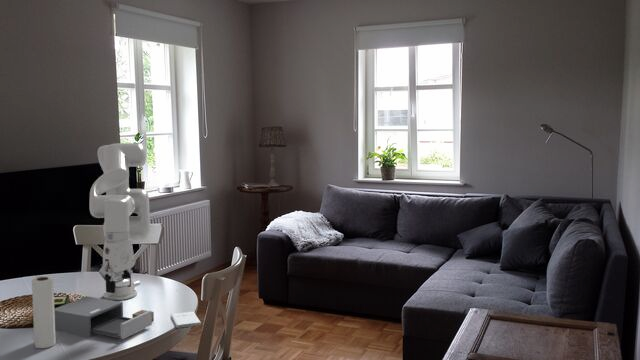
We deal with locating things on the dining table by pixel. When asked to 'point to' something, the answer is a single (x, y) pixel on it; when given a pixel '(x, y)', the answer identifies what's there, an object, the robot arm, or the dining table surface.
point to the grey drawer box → (85, 315)
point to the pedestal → (142, 313)
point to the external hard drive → (185, 319)
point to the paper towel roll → (43, 311)
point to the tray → (122, 325)
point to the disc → (121, 282)
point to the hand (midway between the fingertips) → (118, 288)
